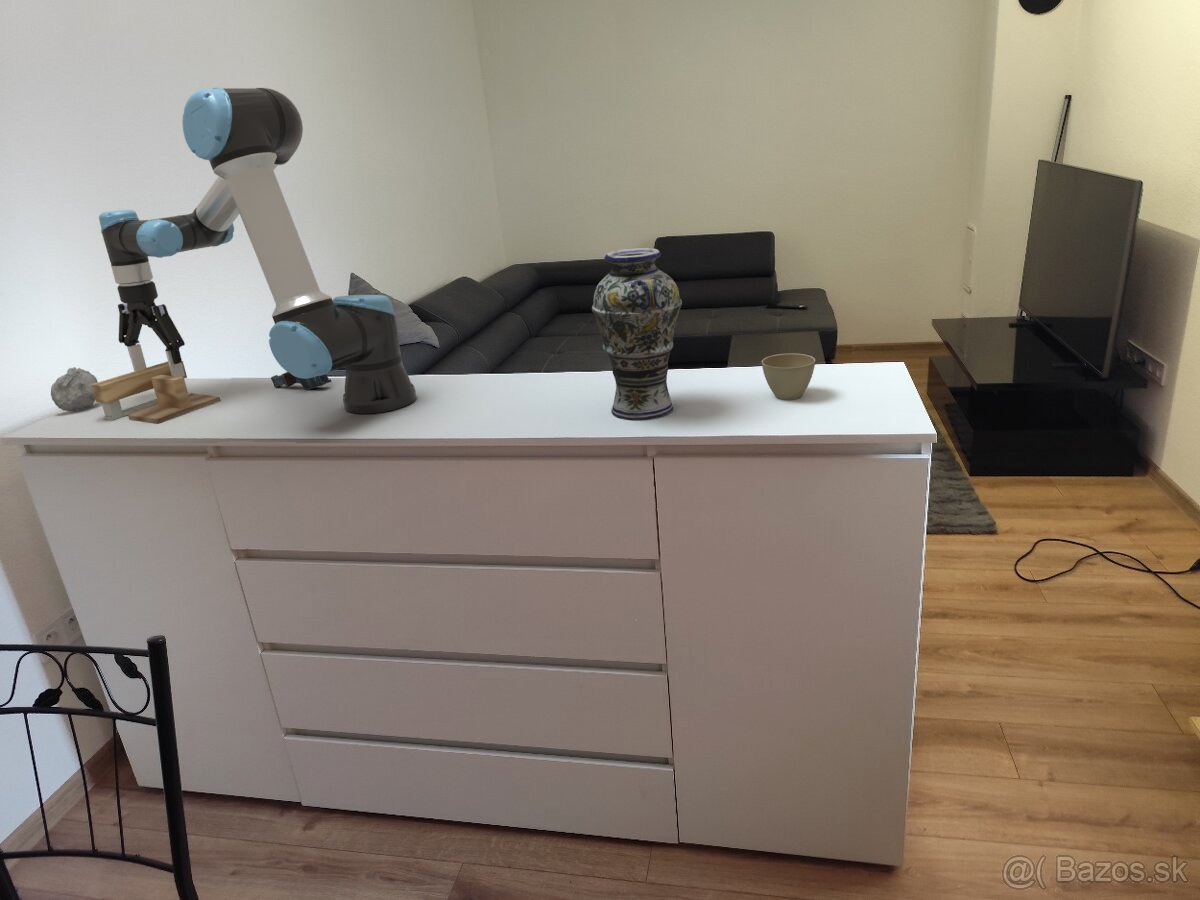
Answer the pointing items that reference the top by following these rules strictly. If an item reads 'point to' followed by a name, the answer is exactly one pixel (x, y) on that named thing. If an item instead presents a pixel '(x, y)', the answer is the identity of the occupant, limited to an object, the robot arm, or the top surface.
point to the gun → (299, 381)
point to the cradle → (115, 410)
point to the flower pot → (788, 374)
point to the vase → (637, 331)
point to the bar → (129, 383)
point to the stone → (74, 390)
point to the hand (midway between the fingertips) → (159, 375)
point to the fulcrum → (172, 400)
